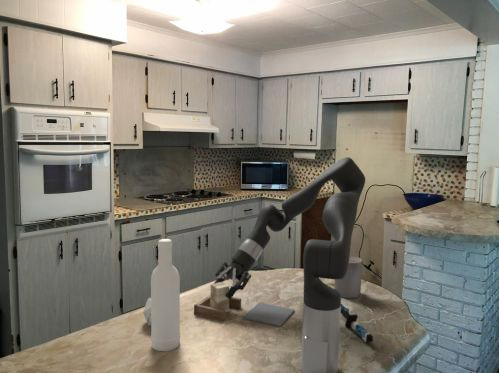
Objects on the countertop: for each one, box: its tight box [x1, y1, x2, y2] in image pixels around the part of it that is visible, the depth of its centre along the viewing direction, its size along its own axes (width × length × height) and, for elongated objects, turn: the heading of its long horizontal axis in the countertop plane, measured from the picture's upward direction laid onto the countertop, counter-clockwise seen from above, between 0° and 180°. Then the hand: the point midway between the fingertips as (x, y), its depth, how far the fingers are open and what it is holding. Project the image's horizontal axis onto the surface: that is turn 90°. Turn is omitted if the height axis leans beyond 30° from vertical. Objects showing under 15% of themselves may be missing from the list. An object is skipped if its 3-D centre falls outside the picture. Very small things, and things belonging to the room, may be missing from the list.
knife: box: [340, 303, 374, 343], centre depth 132 cm, size 31×3×4 cm, turn 11°
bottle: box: [150, 238, 181, 352], centre depth 115 cm, size 8×8×30 cm
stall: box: [193, 294, 242, 322], centre depth 140 cm, size 12×11×3 cm
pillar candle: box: [333, 255, 363, 299], centre depth 157 cm, size 10×10×15 cm
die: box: [142, 297, 151, 327], centre depth 130 cm, size 8×9×10 cm
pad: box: [242, 302, 295, 327], centre depth 138 cm, size 13×13×1 cm
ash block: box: [209, 281, 230, 313], centre depth 140 cm, size 4×4×9 cm
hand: (220, 293), depth 140 cm, fingers open, 8 cm apart
